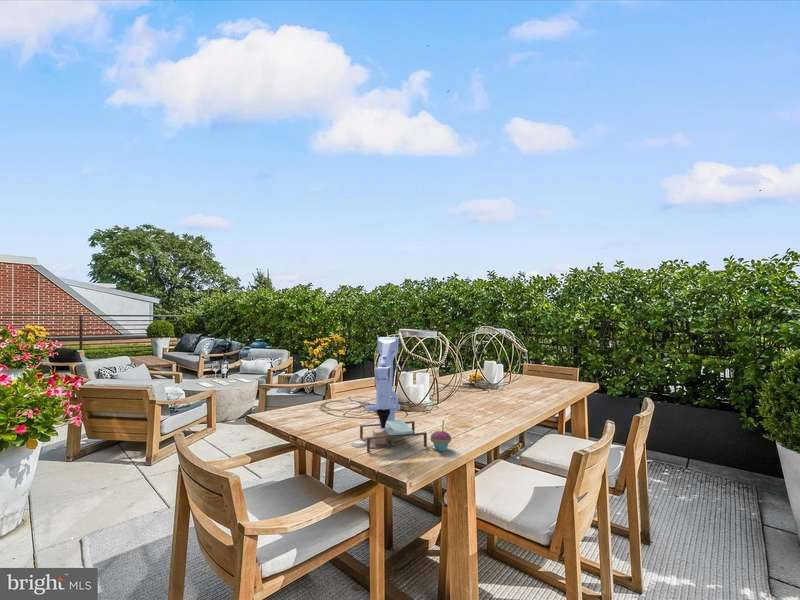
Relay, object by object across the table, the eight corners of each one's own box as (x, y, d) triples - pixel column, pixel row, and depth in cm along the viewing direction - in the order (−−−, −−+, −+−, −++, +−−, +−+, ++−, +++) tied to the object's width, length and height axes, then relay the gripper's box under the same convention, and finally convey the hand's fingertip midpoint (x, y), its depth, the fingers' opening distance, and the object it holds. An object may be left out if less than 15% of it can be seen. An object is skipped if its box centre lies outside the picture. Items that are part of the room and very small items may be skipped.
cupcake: (438, 444, 165) (438, 415, 166) (455, 448, 160) (455, 419, 160) (426, 449, 159) (426, 420, 159) (444, 454, 153) (444, 423, 154)
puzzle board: (347, 440, 169) (348, 426, 170) (413, 435, 177) (413, 421, 177) (353, 455, 152) (354, 439, 152) (426, 448, 160) (426, 433, 160)
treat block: (373, 441, 165) (373, 429, 166) (383, 440, 167) (383, 428, 167) (375, 444, 161) (375, 432, 161) (385, 443, 162) (385, 431, 162)
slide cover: (380, 423, 173) (380, 421, 173) (402, 422, 175) (402, 419, 175) (389, 435, 156) (389, 432, 156) (413, 433, 159) (413, 430, 159)
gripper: (367, 398, 159) (367, 431, 159) (402, 396, 163) (402, 428, 162) (365, 394, 166) (364, 426, 165) (397, 392, 170) (397, 424, 169)
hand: (383, 427), depth 164 cm, fingers closed
